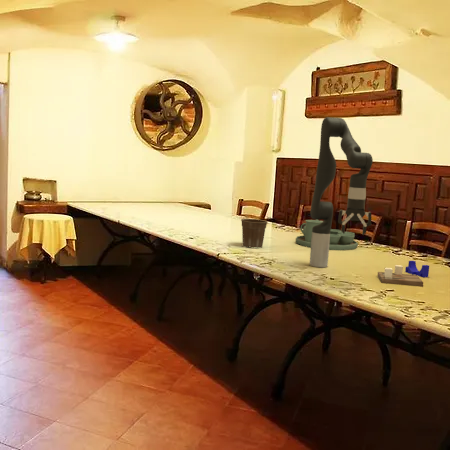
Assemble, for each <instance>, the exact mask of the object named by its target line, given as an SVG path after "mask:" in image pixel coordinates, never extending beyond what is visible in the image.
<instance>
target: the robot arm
mask: <svg viewBox="0 0 450 450" xmlns="http://www.w3.org/2000/svg"><path fill="white" fill-rule="evenodd" d="M331 137H332V138H340V139H341V140H340V149H341V151H342V152H343V154H344V155H345V157H346V161H347V165H348V166H349V167H350V168H352V169H360V170H359V172H358V173H353V174H351V175H350V180H349V188H348V195H347V204H346V209H345V210H343V209H340V210H339V213H338V220H337V223H338V224H340V225H341V229H340V230H341V231H342V232H343V234H344V233H345V232H346V231H345V230H346V224H347V223H348V222H349V221H354V222H355V221H356V222H359V221H360V222H361V224H362V225H363V226H362V236H365V235H366V234H367V227H370V226H372V212H371V211H368V212H367V211H365V210H366V209H365V205H366V198H367V180H368V176H369V175H370V172H371V168H372V165H373V162H374V161H373V156H372V154H371V153H369V152H362V148H361V146H360V145H359V144H358V143H357V141H356V140H355V139H354V137H353V135H352V133H351V131H350V128H349V125H348V124H347V122H346V121H345V119H344V118H342V117H329V116H327V117H324V119H322V122H321V127H320V143H319V144H320V145H319V153H318V160H317V165H316V175H315V181H314V182H315V184H314V190H313V195H312V199H311V206H310V213H309V214H310V217H311V220H316V219H318V220H320V221H323V222H322V223H321V224H319V225H316V226H314V227H313V228H312V239H311V247H310V254H309V255H310V256H309V266H311V267H314V268H328V266H329V263H328V262H329V256H330V255H329V254H330V253H329V252H330V250H329V243H330V231H331V229H332V223H333V216H334V205H333V203H332V202H331V201H322V200H321V199H322V196H323V194H324V193H325V192H326V190H327V188H329V186H331V184H332V182H333V181H334V179H335V178H336V171H337V161H336V159H335V156H334V154H333V152H332V150H331V146H330V139H331ZM344 215H346V217H345V218H344V220H342V216H344ZM365 215H366V217H367V222H365V220H364V219H363V218H364V216H365Z"/></svg>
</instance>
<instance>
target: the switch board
mask: <svg viewBox="0 0 450 450" xmlns="http://www.w3.org/2000/svg"><path fill="white" fill-rule="evenodd" d="M384 272H385V271H378V272H377V275H376V276H377V277H378V280H379V281H380V282H381V283H382V284H392V285H401V286H413V287H423V286H424V281H423V280H422V279H421V278H420V276H418V275H412V274H409V273H408V274H406V273H402V275H395V272H392V278H386V277H384Z"/></svg>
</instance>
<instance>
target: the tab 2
mask: <svg viewBox="0 0 450 450" xmlns="http://www.w3.org/2000/svg"><path fill="white" fill-rule="evenodd" d="M403 268H404V266H403V265H398V264H395V265H394V273H395V275H402V274H403V271H404V270H403Z"/></svg>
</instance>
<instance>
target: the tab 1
mask: <svg viewBox="0 0 450 450" xmlns="http://www.w3.org/2000/svg"><path fill="white" fill-rule="evenodd" d="M383 272H384V277H386V278H392V273H393V268H392V267H385V268H384V271H383Z"/></svg>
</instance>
